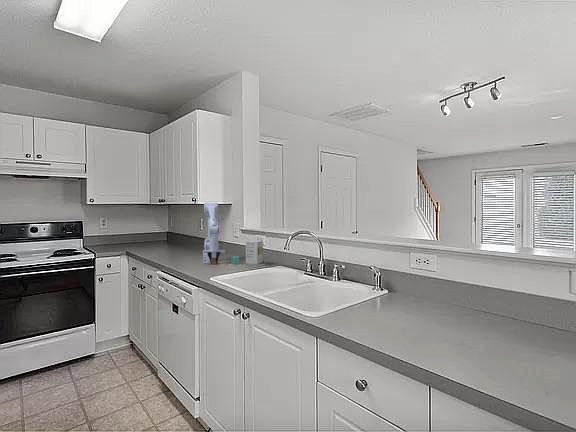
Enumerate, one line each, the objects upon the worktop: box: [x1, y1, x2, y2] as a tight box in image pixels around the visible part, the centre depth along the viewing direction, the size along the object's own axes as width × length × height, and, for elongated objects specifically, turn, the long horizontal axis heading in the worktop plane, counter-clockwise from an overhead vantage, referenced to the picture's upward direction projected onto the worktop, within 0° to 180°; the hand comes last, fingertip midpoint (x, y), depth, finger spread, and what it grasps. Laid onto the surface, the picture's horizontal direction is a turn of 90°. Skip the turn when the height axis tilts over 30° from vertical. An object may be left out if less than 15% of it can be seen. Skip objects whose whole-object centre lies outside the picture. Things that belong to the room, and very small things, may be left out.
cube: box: [231, 255, 240, 266], centre depth 234 cm, size 5×5×5 cm
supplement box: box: [245, 240, 264, 265], centre depth 240 cm, size 10×9×17 cm
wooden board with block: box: [210, 258, 242, 266], centre depth 233 cm, size 20×8×5 cm, turn 96°
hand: (213, 263), depth 232 cm, fingers closed on wooden board with block, 3 cm apart
